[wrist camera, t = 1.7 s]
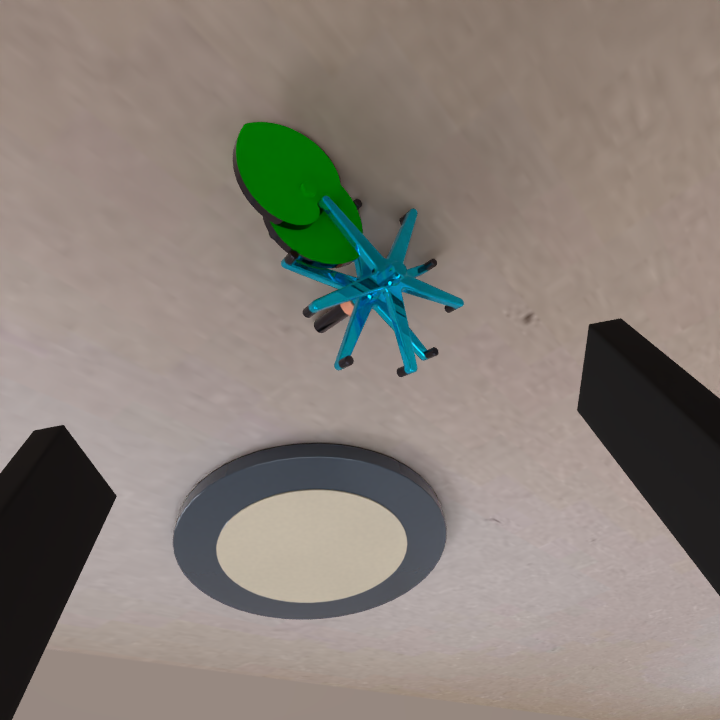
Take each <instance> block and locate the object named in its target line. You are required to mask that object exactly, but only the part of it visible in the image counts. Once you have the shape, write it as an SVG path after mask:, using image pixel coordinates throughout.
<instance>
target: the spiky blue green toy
mask: <svg viewBox="0 0 720 720" xmlns="http://www.w3.org/2000/svg"><path fill="white" fill-rule="evenodd" d="M233 168H234V172H235V176H236V179H237V182H238V184H239V186H240V188H241V190H242V192H243V194H244V195H245V197H246V198H247V200H248V201H249V202H250V204H251V205H252V206H253V207H254V208H255V209H256V210H257V211H258V212H259V213H260V214H261V215H262V216H263V219H264V222H265V225H266V227H267V229H268V231H269V235H270V237H271V238H272V239H274V240H275V241H276V243H277V244H278V245H279V246H280V247H281V248H282V249H283V250H285V251H286V252H287V253H288V254H287V255H286V257H285V258H284V259H283V260H282V261H281V265H282V267H283V268H285V269H288V270H291V271H293V272H296V273H298V274H301V275H303V276H306V277H308V278H311V279H314V280H316V281H319V282H321V283H324V284H326V285H329V286H332V287H334V288H337V289H338V290H336V291H334V292H331V293H329V294H327V295H325V296H323V297H320V298H318V299H316V300H314V301H313V302H312V303H310V304H309V305H308V306H307V307H306V308H304V310H303V315H304V316H305V317H307V318H310V317H311V316H313V315H314V314H315V313H316V312H319V311H322V310H324V309H327V308H330V307H333V306H334V307H333V308H331V309H330V310H329V311H327V312H326V313H325V314H323V315H322V316H321V317H319V318H318V319H317V320H315V322H314V327H315V329H316V331H318V332H319V333H324V332H326V331H327V330H328V329H330V328H331V327H333V326H334V325H336V324H337V323H339V322H340V321H342V320H343V319H345V318H346V317H348V316H351V317H350V320H349V323H348V326H347V329H346V332H345V335H344V337H343V340H342V343H341V346H340V349H339V352H338V355H337V358H336V361H335V364H334V367H335V369H336V370H342V369H344V368H346V367H348V366H350V365H352V364H353V358H352V357H351V354H352V351H353V349H354V347H355V345H356V342H357V340H358V338H359V336H360V334H361V331H362V329H363V327H364V325H365V322H366V320H367V318H368V316H369V313H370V311H371V309H374V310H375V311H376V312H377V313H378V314H379V315H380V316H381V317H382V318H383V320H384V321H385V322H386V323H387V324H388V325H389V326H390V327H391V328H392V329H393V330H394V332H395V335H396V339H397V342H398V346H399V349H400V353H401V356H402V360H403V364H404V366H403V367H400V368H398V369H397V374H398V376H399V377H403V376H406V375H408V374H411V373H414V372H416V371H417V363H416V359H415V354H416V355H417V356H418V357H419V358H420V359H421V360H423V361H424V360H427V359H429V358H432V357H434V356H437V355H438V349H437V348H435V347H433V348H431V349H429V350H427V349H426V348H425V347H424V345H423V344H422V343H421V342H420V340H419V339H418V338H417V337H416V335H415V334H414V333H413V332H412V330H411V329H410V328H409V325H408V321H407V316H406V311H405V306H404V302H403V297H402V292H405V293H408V294H411V295H414V296H418V297H421V298H424V299H427V300H431V301H434V302H437V303H440V304H444V305H446V306H445V311H446V312H447V313H450V312H452V311H454V310H456V309H458V308H460V307H462V306H463V305H464V302H463V300H462V299H461V298H458V297H456V296H454V295H452V294H449V293H447V292H445V291H443V290H440V289H438V288H436V287H434V286H431V285H429V284H427V283H425V282H422V281H420V280H418V279H416V277H418V276H420V275H422V274H424V273H426V272H427V271H429V270H430V269H432V268H433V267H435V266H436V265H437V261H436V260H435V259H431V260H429V261H428V262H426V263H425V264H423V265H420V266H416V267H413V268H410V269H407V268H406V266H405V265H404V264H403V262H404V259H405V255H406V252H407V248H408V245H409V242H410V238H411V235H412V231H413V228H414V225H415V221H416V218H417V214H418V213H417V210H416V209H414V208H413V209H411V210H410V211H408V212H407V213H406V214H405V215H404V216H403V217H401V218H400V224H401V228H400V230H399V232H398V234H397V236H396V238H395V241H394V243H393V245H392V247H391V249H390V252H389V254H388V256H387V258H386V259H385V258H384V257H383V256H382V255H381V254H380V253H379V252H378V251H377V250H376V249H375V247H374V246H373V245H372V244H371V243H370V242H369V241H368V240H367V239H366V237H365V236H364V235H363V229H362V223H361V219H360V216H359V213H358V209H359V208H360V207H361V206H362V202H361V201H360V200H359V199H355V200H354V201H353V200H352V199H351V197H350V196H349V194H348V193H347V192H346V190H345V189H344V188H343V187H342V186H341V184H340V179H339V176H338V173H337V171H336V169H335V167H334V165H333V163H332V162H331V160H330V159H329V157H328V156H327V155H326V154H325V153H324V151H323V150H322V149H321V148H320V147H319V146H317V145H316V144H315V143H314V142H313V141H311V140H310V139H309V138H307V137H306V136H304V135H303V134H301V133H299V132H297V131H295V130H293V129H291V128H288V127H286V126H282V125H279V124H274V123H268V122H253V123H247V124H245V125H244V126H243V128H242V129H241V131H240V133H239V135H238V138H237V140H236V142H235V146H234V150H233ZM352 262H354V263H355V268H356V273H357V278H356V277H353V276H350V275H346V274H343V273H340V272H337V271H333V270H330V269H327V268H339V267H343V266H346V265H349V264H351V263H352ZM414 352H415V354H414Z"/></svg>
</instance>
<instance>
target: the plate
mask: <svg viewBox="0 0 720 720" xmlns="http://www.w3.org/2000/svg"><path fill="white" fill-rule="evenodd" d="M445 543H446V524H445V519H444V515H443V511H442V508H441V505H440V502H439V500H438V498H437V496H436V494H435V493H434V491H433V490H432V488H431V487H430V486H429V484H428V483H427V482H426V481H425V480H424V479H423V478H422V477H421V476H420V475H418V474H417V473H416V472H414V471H413V470H411V469H410V468H409V467H407V466H406V465H404V464H402V463H400V462H398V461H396V460H394V459H392V458H390V457H387V456H385V455H382V454H379V453H377V452H373V451H370V450H366V449H362V448H358V447H352V446H345V445H339V444H322V443H313V444H295V445H287V446H280V447H275V448H270V449H266V450H262V451H258V452H255V453H252V454H249V455H246V456H243V457H240V458H238V459H236V460H234V461H232V462H230V463H228V464H226V465H224V466H222V467H220V468H219V469H217V470H216V471H214V472H213V473H211V474H210V475H208V476H207V477H206V478H205V479H204V480H202V481H201V482H200V483H199V484H198V485H197V486H196V487H195V488H194V490H193V491H192V492H191V493H190V494H189V495H188V497H187V499H186V500H185V502H184V504H183V506H182V508H181V511H180V514H179V517H178V520H177V523H176V526H175V529H174V535H173V548H174V554H175V557H176V560H177V563H178V565H179V567H180V568H181V570H182V572H183V573H184V575H185V576H186V577H187V578H188V579H189V580H190V581H191V583H192V584H194V585H195V586H196V587H197V588H198V589H200V590H201V591H202V592H204V593H205V594H207V595H208V596H210V597H211V598H213V599H215V600H217V601H219V602H221V603H223V604H225V605H228V606H230V607H233V608H235V609H238V610H241V611H245V612H248V613H252V614H257V615H261V616H267V617H274V618H283V619H323V618H332V617H339V616H344V615H349V614H354V613H358V612H362V611H365V610H369V609H372V608H374V607H377V606H380V605H383V604H385V603H387V602H389V601H392V600H394V599H396V598H398V597H399V596H401V595H403V594H405V593H406V592H408V591H409V590H411V589H412V588H414V587H415V586H417V585H418V584H419V583H420V582H421V581H422V580H423V579H425V578H426V577H427V576H428V574H429V573H430V572H431V571H432V570H433V569H434V567H435V566H436V564H437V563H438V561H439V560H440V557H441V555H442V553H443V551H444V547H445Z"/></svg>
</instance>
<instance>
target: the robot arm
mask: <svg viewBox="0 0 720 720" xmlns="http://www.w3.org/2000/svg"><path fill="white" fill-rule="evenodd" d="M577 411H578V412H579V413H580V415H581V416H582V417H583V419H584V420H585V421H586V422H587V424H588V425H589V426H590V428H591V429H592V430H593V432H594V433H595V434H596V435H597V437H598V438H599V439H600V441H601V442H602V443H603V445H604V446H605V447H606V449H607V450H608V451H609V452H610V454H611V455H612V456H613V458H614V459H615V460H616V462H617V463H618V464H619V465H620V467H621V468H622V469H623V471H624V472H625V473H626V475H627V476H628V477H629V478H630V480H631V481H632V482H633V484H634V485H635V486H636V488H637V489H638V490H639V491H640V493H641V494H642V495H643V497H644V498H645V499H646V501H647V502H648V503H649V505H650V506H651V507H652V508H653V510H654V511H655V512H656V514H657V515H658V516H659V518H660V519H661V520H662V521H663V523H664V524H665V525H666V527H667V528H668V529H669V531H670V532H671V533H672V534H673V536H674V537H675V538H676V540H677V541H678V542H679V544H680V545H681V546H682V547H683V549H684V550H685V551H686V553H687V554H688V555H689V557H690V558H691V559H692V560H693V562H694V563H695V564H696V566H697V567H698V568H699V570H700V571H701V572H702V574H703V575H704V576H705V577H706V579H707V580H708V581H709V583H710V584H711V585H712V587H713V588H714V589H715V590H716V592H717V593H718V594H719V596H720V399H719V398H718V397H717V396H716V395H714V394H713V393H712V392H711V391H710V390H708V389H707V388H706V387H705V386H703V385H702V384H701V383H700V382H698V381H697V380H696V379H695V378H694V377H692V376H691V375H690V374H689V373H687V372H686V371H685V370H684V369H683V368H681V367H680V366H679V365H678V364H676V363H675V362H674V361H673V360H671V359H670V358H669V357H668V356H667V355H665V354H664V353H663V352H662V351H660V350H659V349H658V348H657V347H655V346H654V345H653V344H652V343H651V342H649V341H648V340H647V339H646V338H644V337H643V336H642V335H641V334H639V333H638V332H637V331H636V330H635V329H633V328H632V327H631V326H630V325H628V324H627V323H626V322H625V321H623V320H622V319H621V318H620V319H615V320H610V321H605V322H599V323H594V324H589V329H588V336H587V344H586V351H585V358H584V365H583V372H582V380H581V387H580V394H579V401H578V408H577ZM116 497H117V496H116V494H115V493H114V492H113V490H112V489H111V488H110V486H109V485H108V484H107V482H106V481H105V480H104V478H103V477H102V476H101V474H100V473H99V472H98V470H97V469H96V468H95V466H94V465H93V464H92V462H91V461H90V460H89V458H88V457H87V456H86V454H85V453H84V452H83V450H82V449H81V448H80V446H79V445H78V444H77V442H76V441H75V440H74V438H73V437H72V436H71V434H70V433H69V432H68V430H67V429H66V428H65V426H64V425H61V426H56V427H50V428H45V429H40V430H35V431H33V432H32V434H31V435H30V436H29V438H28V439H27V440H26V441H25V443H24V444H23V445H22V447H21V448H20V449H19V450H18V452H17V453H16V454H15V455H14V457H13V458H12V459H11V461H10V462H9V463H8V464H7V466H6V467H5V468H4V469H3V471H2V472H1V473H0V720H12V718H13V716H14V714H15V712H16V710H17V707H18V705H19V703H20V701H21V699H22V697H23V695H24V693H25V691H26V688H27V686H28V684H29V682H30V680H31V678H32V676H33V673H34V671H35V669H36V667H37V665H38V663H39V661H40V658H41V656H42V654H43V652H44V650H45V648H46V646H47V644H48V642H49V639H50V637H51V635H52V633H53V631H54V629H55V627H56V624H57V622H58V620H59V618H60V616H61V614H62V612H63V610H64V607H65V605H66V603H67V601H68V599H69V597H70V595H71V593H72V590H73V588H74V586H75V584H76V582H77V580H78V578H79V575H80V573H81V571H82V569H83V567H84V565H85V563H86V561H87V558H88V556H89V554H90V552H91V550H92V548H93V546H94V544H95V541H96V539H97V537H98V535H99V533H100V531H101V529H102V526H103V524H104V522H105V520H106V518H107V516H108V514H109V512H110V509H111V507H112V505H113V503H114V501H115V499H116Z"/></svg>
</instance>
